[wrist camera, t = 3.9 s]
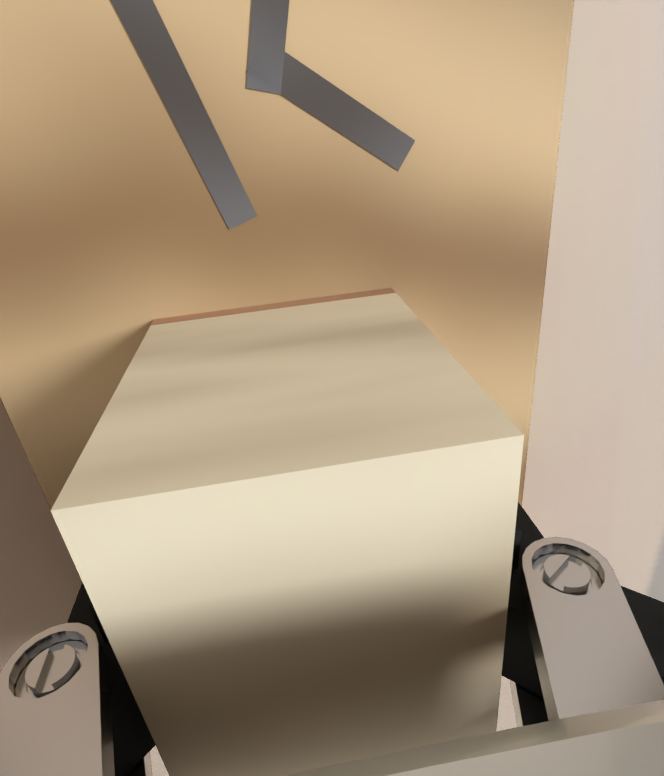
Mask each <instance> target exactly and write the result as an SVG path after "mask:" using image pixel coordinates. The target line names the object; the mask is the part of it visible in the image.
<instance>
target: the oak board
mask: <svg viewBox="0 0 664 776" xmlns="http://www.w3.org/2000/svg"><path fill="white" fill-rule="evenodd" d="M573 7H574V0H0V398H1V400H2V402H3V405H4V407H5V409H6V411H7V413H8V416H9V418H10V420H11V422H12V425H13V427H14V429H15V431H16V433H17V436H18V438H19V440H20V442H21V445H22V447H23V449H24V451H25V453H26V456H27V458H28V460H29V462H30V465H31V467H32V469H33V471H34V474H35V476H36V478H37V480H38V482H39V485H40V487H41V489H42V491H43V494H44V496H45V498H46V500H47V502H48V505H49V507H50V509H52V507H53V505H54V503H55V501H56V500H57V498H58V496H59V494H60V492H61V490H62V489H63V487H64V485H65V483H66V481H67V479H68V477H69V476H70V474H71V472H72V470H73V468H74V466H75V464H76V463H77V461H78V459H79V457H80V455H81V453H82V452H83V450H84V448H85V446H86V444H87V442H88V440H89V439H90V437H91V435H92V433H93V431H94V429H95V427H96V426H97V424H98V422H99V420H100V418H101V416H102V415H103V413H104V411H105V409H106V407H107V405H108V403H109V402H110V400H111V398H112V396H113V394H114V392H115V390H116V389H117V387H118V385H119V383H120V381H121V379H122V378H123V376H124V374H125V372H126V370H127V368H128V366H129V365H130V363H131V361H132V359H133V357H134V355H135V353H136V352H137V350H138V348H139V346H140V344H141V342H142V341H143V339H144V337H145V335H146V333H147V331H148V329H149V328H150V326H151V324H152V322H153V320H154V319H159V318H167V317H174V316H182V315H189V314H197V313H204V312H212V311H219V310H227V309H234V308H242V307H249V306H257V305H264V304H272V303H279V302H287V301H294V300H302V299H309V298H317V297H324V296H332V295H339V294H347V293H354V292H362V291H369V290H377V289H384V288H392V289H393V290H394V291H395V292H396V293H397V294H398V295H399V297H400V298H401V299H402V300H403V301H404V302H405V303H406V304H407V305H408V307H409V308H410V309H411V310H412V311H413V312H414V313H415V314H416V315H417V317H418V318H419V319H420V320H421V321H422V322H423V323H424V324H425V325H426V327H427V328H428V329H429V330H430V331H431V332H432V333H433V334H434V335H435V337H436V338H437V339H438V340H439V341H440V342H441V343H442V344H443V345H444V346H445V348H446V349H447V350H448V351H449V352H450V353H451V354H452V355H453V356H454V358H455V359H456V360H457V361H458V362H459V363H460V364H461V365H462V366H463V368H464V369H465V370H466V371H467V372H468V373H469V374H470V375H471V376H472V378H473V379H474V380H475V381H476V382H477V383H478V384H479V385H480V386H481V388H482V389H483V390H484V391H485V392H486V393H487V394H488V395H489V396H490V398H491V399H492V400H493V401H494V402H495V403H496V404H497V405H498V406H499V408H500V409H501V410H502V411H503V412H504V413H505V414H506V415H507V416H508V418H509V419H510V420H511V421H512V422H513V423H514V424H515V425H516V426H517V427H518V429H519V430H520V431H521V432H522V433H523V434H524V442H523V453H522V463H521V474H520V485H519V495H518V502H519V504H520V505H521V506H522V498H523V488H524V479H525V469H526V459H527V450H528V440H529V431H530V421H531V411H532V402H533V392H534V382H535V373H536V363H537V353H538V344H539V334H540V325H541V315H542V305H543V296H544V286H545V276H546V267H547V257H548V248H549V238H550V228H551V219H552V209H553V199H554V190H555V180H556V170H557V161H558V151H559V142H560V132H561V122H562V113H563V103H564V93H565V84H566V74H567V64H568V55H569V45H570V36H571V26H572V16H573Z"/></svg>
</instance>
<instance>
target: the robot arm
mask: <svg viewBox="0 0 664 776" xmlns="http://www.w3.org/2000/svg"><path fill="white" fill-rule="evenodd" d="M502 676H504V677H506V678H508V679H510V687H511V693H512V699H513V705H514V711H515V717H516V723H517V728H512V729H507V730H502V731H497V732H492V733H488V734H483V735H478V736H473V737H468V738H463V739H458V740H453V741H448V742H443V743H438V744H433V745H428V746H423V747H419V748H414V749H409V750H404V751H399V752H394V753H390V754H385V755H380V756H375V757H370V758H365V759H361V760H356V761H351V762H346V763H341V764H337V765H332V766H327V767H322V768H317V769H313V770H308V771H303V772H298V773H293V774H289V775H284V776H664V602H661V601H659V600H656V599H653V598H651V597H648V596H646V595H643V594H641V593H638V592H635V591H633V590H630V589H628V588H625V587H622V586H620V584H619V581H618V579H617V577H616V575H615V572H614V570H613V568H612V567H611V565H610V564H609V562H608V561H607V559H606V558H605V557H603V556H602V555H601V554H600V553H599V552H598V551H597V550H595V549H593V548H591V547H590V546H588V545H586V544H584V543H582V542H579V541H576V540H573V539H568V538H561V537H550V538H544V537H543V536H542V534H541V533H540V531H539V530H538V529H537V527H536V526H535V524H534V523H533V522H532V520H531V519H530V518H529V516H528V515H527V513H526V512H525V511H524V509H523V508H522V506H521V505H520V504H519V502H518V506H517V516H516V527H515V537H514V548H513V559H512V569H511V580H510V590H509V601H508V612H507V622H506V633H505V643H504V654H503V665H502ZM155 745H156V744H155V742H154V740H153V738H152V736H151V733H150V731H149V729H148V727H147V724H146V722H145V720H144V718H143V716H142V713H141V711H140V709H139V707H138V704H137V702H136V700H135V698H134V696H133V693H132V691H131V689H130V687H129V684H128V682H127V680H126V678H125V675H124V673H123V671H122V669H121V667H120V664H119V662H118V660H117V658H116V655H115V653H114V651H113V649H112V647H111V644H110V642H109V640H108V638H107V635H106V633H105V631H104V629H103V626H102V624H101V622H100V620H99V618H98V615H97V613H96V611H95V609H94V606H93V604H92V602H91V600H90V598H89V595H88V593H87V591H86V589H85V586H84V584H83V583H82V585H81V588H80V590H79V593H78V596H77V598H76V601H75V604H74V606H73V609H72V611H71V614H70V617H69V619H68V622H67V623H64V624H60V625H57V626H53V627H50V628H48V629H46V630H44V631H42V632H40V633H38V634H36V635H35V636H33V637H32V638H31V639H29V640H28V641H27V642H25V643H24V644H22V646H21V647H20V648H19V649H18V650H17V651H16V652H15V653H14V654H13V655H12V656H11V657H10V658H9V660H8V661H7V663H6V664H5V666H4V668H3V669H2V671H1V674H0V776H153V775H152V766H151V757H150V752H149V751H150V750H151V749H152V748H153V747H154V746H155Z"/></svg>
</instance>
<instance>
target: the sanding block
mask: <svg viewBox="0 0 664 776" xmlns="http://www.w3.org/2000/svg"><path fill="white" fill-rule="evenodd" d="M523 442H524V434H523V433H522V432H521V431H520V430H519V429H518V427H517V426H516V425H515V424H514V423H513V422H512V421H511V420H510V419H509V418H508V416H507V415H506V414H505V413H504V412H503V411H502V410H501V409H500V408H499V406H498V405H497V404H496V403H495V402H494V401H493V400H492V399H491V398H490V396H489V395H488V394H487V393H486V392H485V391H484V390H483V389H482V388H481V386H480V385H479V384H478V383H477V382H476V381H475V380H474V379H473V378H472V376H471V375H470V374H469V373H468V372H467V371H466V370H465V369H464V368H463V366H462V365H461V364H460V363H459V362H458V361H457V360H456V359H455V358H454V356H453V355H452V354H451V353H450V352H449V351H448V350H447V349H446V348H445V346H444V345H443V344H442V343H441V342H440V341H439V340H438V339H437V338H436V337H435V335H434V334H433V333H432V332H431V331H430V330H429V329H428V328H427V327H426V325H425V324H424V323H423V322H422V321H421V320H420V319H419V318H418V317H417V315H416V314H415V313H414V312H413V311H412V310H411V309H410V308H409V307H408V305H407V304H406V303H405V302H404V301H403V300H402V299H401V298H400V297H399V295H398V294H397V293H396V292H395V291H394V290H393V289H392V288H384V289H377V290H369V291H362V292H354V293H347V294H339V295H332V296H324V297H317V298H309V299H302V300H294V301H287V302H279V303H272V304H264V305H257V306H249V307H242V308H234V309H227V310H219V311H212V312H204V313H197V314H189V315H182V316H174V317H167V318H159V319H154V320H153V322H152V324H151V326H150V328H149V329H148V331H147V333H146V335H145V337H144V339H143V341H142V342H141V344H140V346H139V348H138V350H137V352H136V353H135V355H134V357H133V359H132V361H131V363H130V365H129V366H128V368H127V370H126V372H125V374H124V376H123V378H122V379H121V381H120V383H119V385H118V387H117V389H116V390H115V392H114V394H113V396H112V398H111V400H110V402H109V403H108V405H107V407H106V409H105V411H104V413H103V415H102V416H101V418H100V420H99V422H98V424H97V426H96V427H95V429H94V431H93V433H92V435H91V437H90V439H89V440H88V442H87V444H86V446H85V448H84V450H83V452H82V453H81V455H80V457H79V459H78V461H77V463H76V464H75V466H74V468H73V470H72V472H71V474H70V476H69V477H68V479H67V481H66V483H65V485H64V487H63V489H62V490H61V492H60V494H59V496H58V498H57V500H56V501H55V503H54V505H53V507H52V509H51V513H52V515H53V517H54V520H55V522H56V524H57V526H58V529H59V531H60V533H61V535H62V537H63V540H64V542H65V544H66V546H67V549H68V551H69V553H70V555H71V557H72V560H73V562H74V564H75V566H76V569H77V571H78V573H79V575H80V577H81V580H82V582H83V584H84V586H85V589H86V591H87V593H88V595H89V598H90V600H91V602H92V604H93V606H94V609H95V611H96V613H97V615H98V618H99V620H100V622H101V624H102V626H103V629H104V631H105V633H106V635H107V638H108V640H109V642H110V644H111V647H112V649H113V651H114V653H115V655H116V658H117V660H118V662H119V664H120V667H121V669H122V671H123V673H124V675H125V678H126V680H127V682H128V684H129V687H130V689H131V691H132V693H133V696H134V698H135V700H136V702H137V704H138V707H139V709H140V711H141V713H142V716H143V718H144V720H145V722H146V724H147V727H148V729H149V731H150V733H151V736H152V738H153V740H154V742H155V744H156V747H157V749H158V751H159V753H160V756H161V758H162V760H163V762H164V765H165V767H166V769H167V771H168V773H169V776H284V775H289V774H293V773H298V772H303V771H308V770H313V769H317V768H322V767H327V766H332V765H337V764H341V763H346V762H351V761H356V760H361V759H365V758H370V757H375V756H380V755H385V754H390V753H394V752H399V751H404V750H409V749H414V748H419V747H423V746H428V745H433V744H438V743H443V742H448V741H453V740H458V739H463V738H468V737H473V736H478V735H483V734H488V733H492V732H496V728H497V718H498V707H499V696H500V686H501V675H502V665H503V654H504V643H505V633H506V622H507V612H508V601H509V590H510V580H511V569H512V559H513V548H514V537H515V527H516V516H517V506H518V495H519V485H520V474H521V463H522V453H523Z"/></svg>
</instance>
